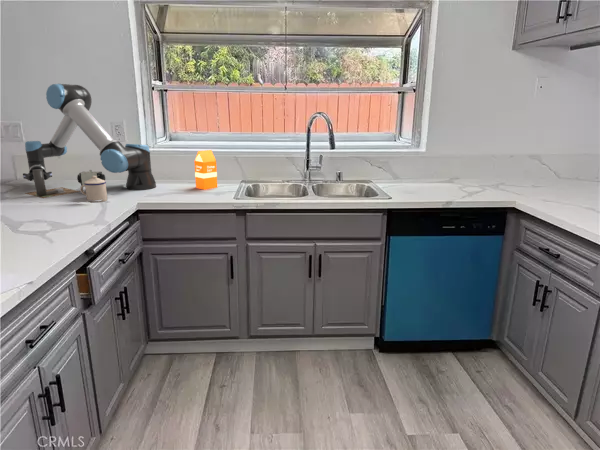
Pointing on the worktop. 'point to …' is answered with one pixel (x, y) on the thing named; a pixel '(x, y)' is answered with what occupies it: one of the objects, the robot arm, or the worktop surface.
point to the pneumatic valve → (89, 176)
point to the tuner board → (66, 191)
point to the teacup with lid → (95, 189)
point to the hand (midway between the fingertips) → (38, 180)
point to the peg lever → (42, 184)
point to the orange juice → (205, 170)
